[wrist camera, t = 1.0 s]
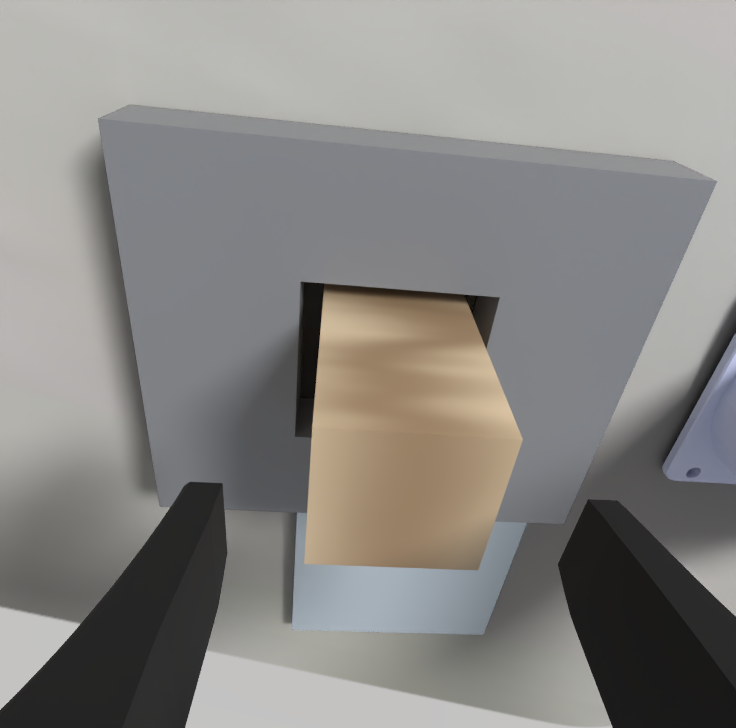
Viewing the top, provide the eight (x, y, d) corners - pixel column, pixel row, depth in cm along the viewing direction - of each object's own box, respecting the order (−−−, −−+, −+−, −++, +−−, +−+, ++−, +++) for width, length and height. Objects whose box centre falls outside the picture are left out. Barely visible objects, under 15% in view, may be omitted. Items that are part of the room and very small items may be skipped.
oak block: (459, 282, 16) (523, 439, 10) (436, 390, 18) (478, 570, 12) (325, 272, 16) (312, 427, 10) (318, 383, 18) (303, 563, 12)
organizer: (673, 161, 14) (717, 181, 13) (546, 483, 21) (563, 524, 19) (129, 104, 13) (97, 118, 11) (175, 464, 20) (159, 506, 18)
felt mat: (530, 491, 21) (534, 503, 21) (480, 622, 26) (483, 634, 25) (299, 480, 20) (297, 492, 20) (293, 617, 25) (291, 629, 25)
